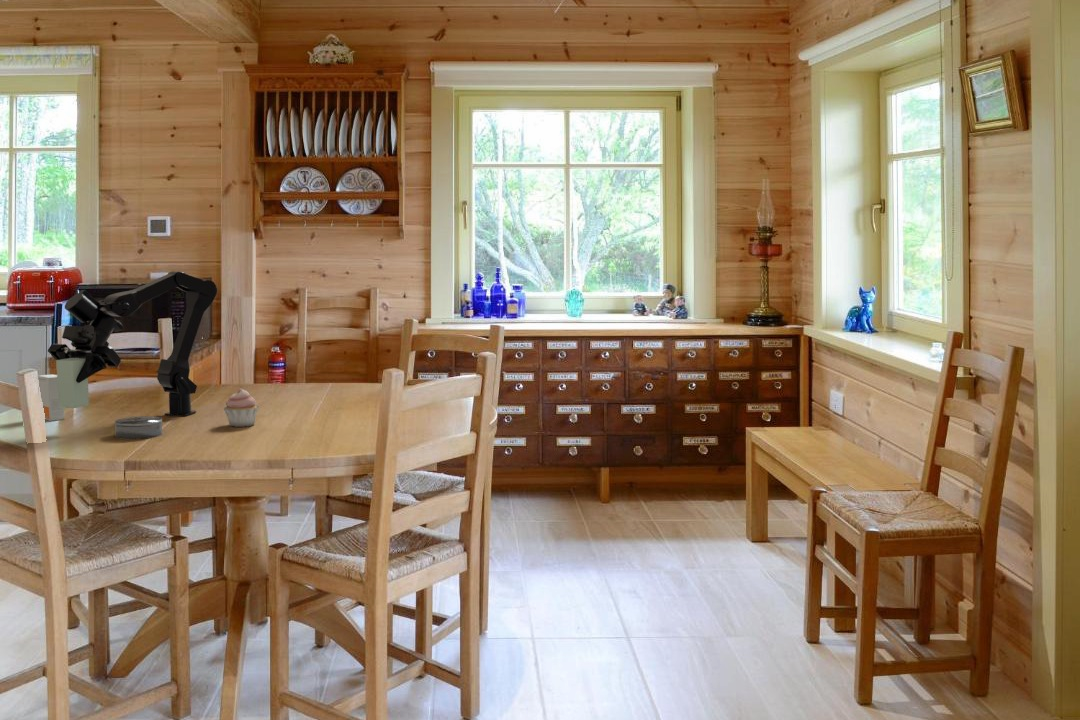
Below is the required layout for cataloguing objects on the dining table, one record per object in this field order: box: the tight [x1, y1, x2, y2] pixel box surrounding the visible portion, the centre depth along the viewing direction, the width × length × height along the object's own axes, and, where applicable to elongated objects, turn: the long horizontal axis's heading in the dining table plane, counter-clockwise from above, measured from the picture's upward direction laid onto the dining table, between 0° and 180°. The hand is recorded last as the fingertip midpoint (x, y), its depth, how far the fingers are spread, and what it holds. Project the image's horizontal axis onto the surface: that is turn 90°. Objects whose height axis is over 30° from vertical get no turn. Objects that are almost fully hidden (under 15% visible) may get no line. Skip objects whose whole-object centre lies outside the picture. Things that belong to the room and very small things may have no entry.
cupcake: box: [222, 387, 260, 428], centre depth 269 cm, size 9×9×10 cm
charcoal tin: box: [114, 415, 163, 440], centre depth 255 cm, size 11×11×4 cm
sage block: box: [55, 358, 90, 409], centre depth 256 cm, size 5×5×12 cm
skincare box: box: [37, 373, 66, 422], centre depth 275 cm, size 6×4×12 cm
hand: (68, 381), depth 255 cm, fingers closed on sage block, 5 cm apart
